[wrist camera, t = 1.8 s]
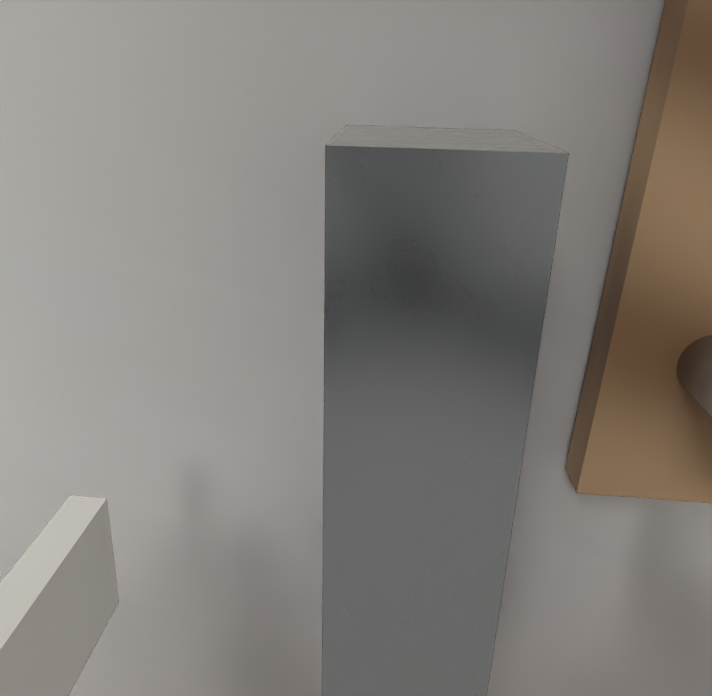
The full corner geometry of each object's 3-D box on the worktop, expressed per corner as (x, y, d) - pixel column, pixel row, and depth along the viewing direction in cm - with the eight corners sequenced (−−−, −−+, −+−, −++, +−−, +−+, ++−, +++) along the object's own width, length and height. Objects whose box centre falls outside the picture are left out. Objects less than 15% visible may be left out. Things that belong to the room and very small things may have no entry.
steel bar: (346, 125, 15) (325, 145, 11) (515, 129, 15) (568, 153, 10) (337, 625, 21) (321, 774, 17) (455, 632, 21) (472, 785, 17)
